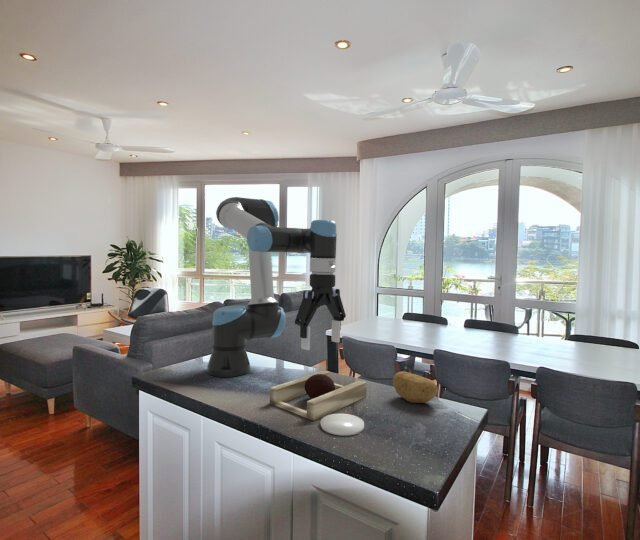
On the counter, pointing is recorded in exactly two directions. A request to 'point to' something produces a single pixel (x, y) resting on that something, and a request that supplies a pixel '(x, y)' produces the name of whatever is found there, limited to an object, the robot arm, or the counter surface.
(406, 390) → the potato
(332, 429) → the plate
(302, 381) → the cradle
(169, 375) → the counter surface
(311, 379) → the dark brown rounded piece
